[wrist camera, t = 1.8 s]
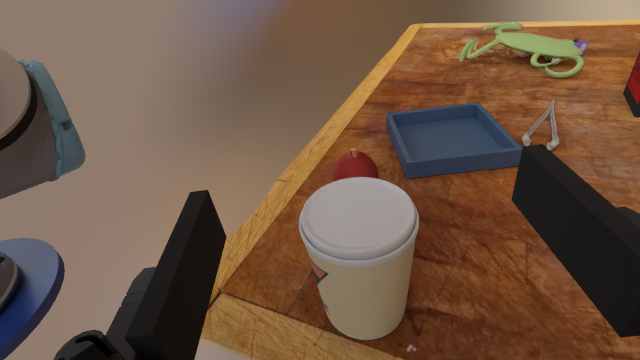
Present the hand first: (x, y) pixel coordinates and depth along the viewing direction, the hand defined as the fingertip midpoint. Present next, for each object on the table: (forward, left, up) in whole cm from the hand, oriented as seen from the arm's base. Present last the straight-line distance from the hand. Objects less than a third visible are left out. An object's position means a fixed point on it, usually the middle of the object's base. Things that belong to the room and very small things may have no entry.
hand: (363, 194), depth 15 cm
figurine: (+43, +69, -21) cm, 84 cm away
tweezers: (+33, +39, -21) cm, 55 cm away
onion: (+1, +25, -21) cm, 32 cm away
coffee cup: (0, +9, -21) cm, 23 cm away
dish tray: (+16, +36, -21) cm, 44 cm away
